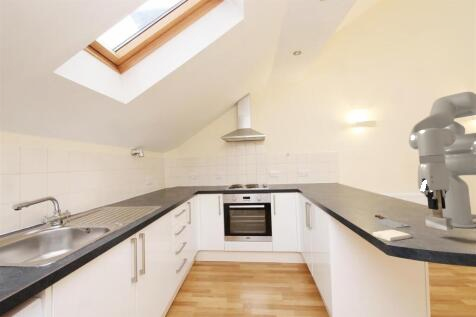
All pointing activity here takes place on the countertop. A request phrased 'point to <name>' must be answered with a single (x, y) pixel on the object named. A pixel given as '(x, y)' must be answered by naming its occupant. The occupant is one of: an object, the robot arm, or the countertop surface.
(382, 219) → the kitchen cleaver
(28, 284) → the countertop surface
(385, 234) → the tile
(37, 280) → the countertop surface
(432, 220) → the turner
